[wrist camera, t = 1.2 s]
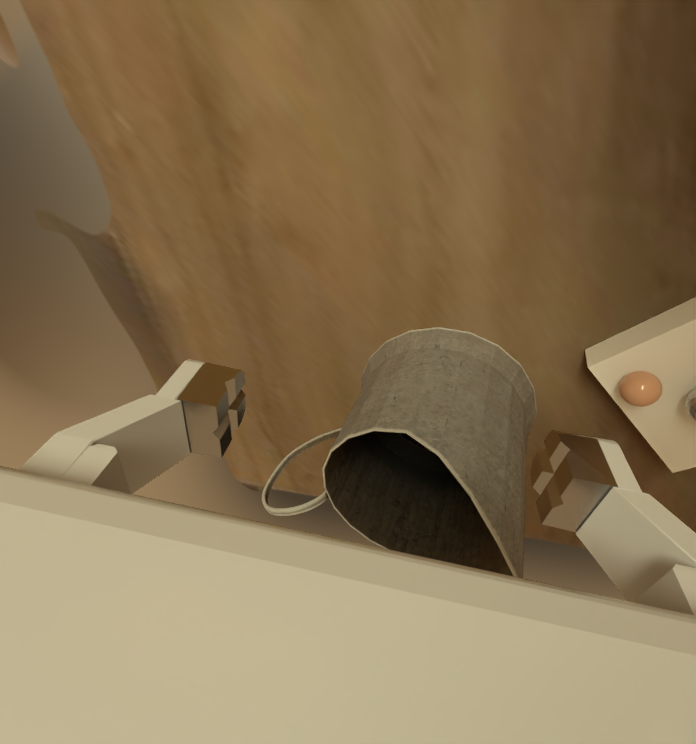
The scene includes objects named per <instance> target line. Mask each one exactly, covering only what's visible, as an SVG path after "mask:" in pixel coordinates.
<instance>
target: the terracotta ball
mask: <svg viewBox="0 0 696 744" xmlns="http://www.w3.org/2000/svg"><path fill="white" fill-rule="evenodd" d="M662 390H663V388H662V384H661V382H660V380H659V379H658V378H657V377H656V376H655V375H654V374H652V373H649V372H646V371H634V372H631V373H629V374H627V375H626V376H625V377H623V379H622V380H621V382H620V384H619V392H620V395H621V397H622V398H623V399H624V400H625V401H626V402H627V403H629V404H631V405H634V406H639V407H644V406H649V405H652V404H654V403H655V402H656V401H658V399H659V398H660V397H661V395H662Z"/></svg>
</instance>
